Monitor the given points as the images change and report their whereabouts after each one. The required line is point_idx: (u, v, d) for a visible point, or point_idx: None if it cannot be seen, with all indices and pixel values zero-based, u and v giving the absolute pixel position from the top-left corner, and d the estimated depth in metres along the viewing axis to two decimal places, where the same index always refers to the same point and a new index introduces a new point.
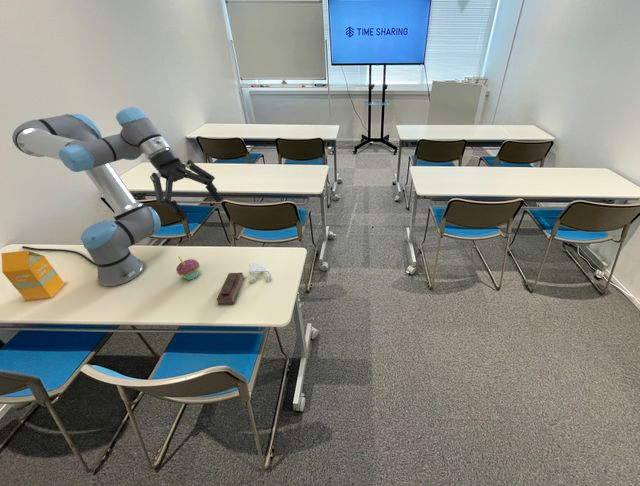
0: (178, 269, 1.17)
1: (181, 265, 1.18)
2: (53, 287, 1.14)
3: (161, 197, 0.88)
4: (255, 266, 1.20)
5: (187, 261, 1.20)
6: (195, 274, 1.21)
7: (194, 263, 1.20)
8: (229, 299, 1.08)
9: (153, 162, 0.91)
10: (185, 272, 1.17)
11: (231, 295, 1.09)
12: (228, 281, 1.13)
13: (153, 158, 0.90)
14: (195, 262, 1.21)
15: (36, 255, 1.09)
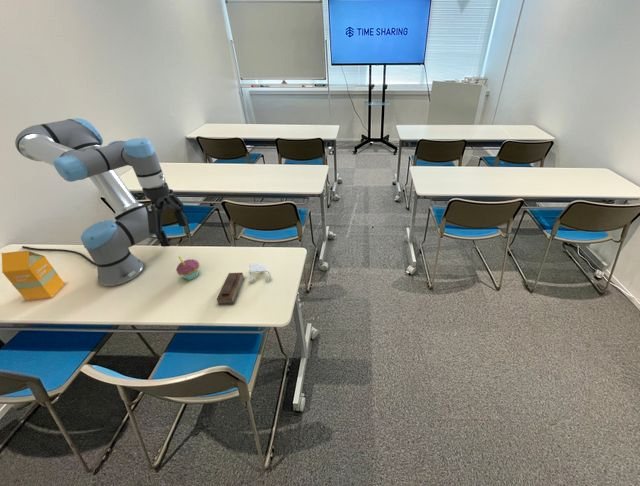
0: (178, 269, 1.17)
1: (181, 265, 1.18)
2: (53, 287, 1.14)
3: (157, 228, 1.00)
4: (255, 266, 1.20)
5: (187, 261, 1.20)
6: (195, 274, 1.21)
7: (194, 263, 1.20)
8: (229, 299, 1.08)
9: (151, 193, 0.99)
10: (185, 272, 1.17)
11: (231, 295, 1.09)
12: (228, 281, 1.13)
13: (153, 191, 0.98)
14: (195, 262, 1.21)
15: (36, 255, 1.09)
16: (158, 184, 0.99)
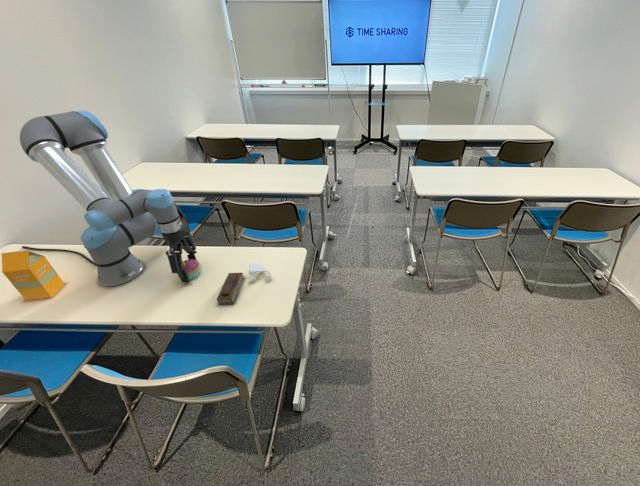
0: None
1: None
2: (53, 287, 1.14)
3: (178, 269, 1.11)
4: (255, 266, 1.20)
5: (187, 261, 1.20)
6: (195, 274, 1.21)
7: (194, 263, 1.20)
8: (229, 299, 1.08)
9: (170, 238, 1.08)
10: None
11: (231, 295, 1.09)
12: (228, 281, 1.13)
13: (172, 235, 1.08)
14: (195, 262, 1.21)
15: (36, 255, 1.09)
16: (176, 229, 1.08)
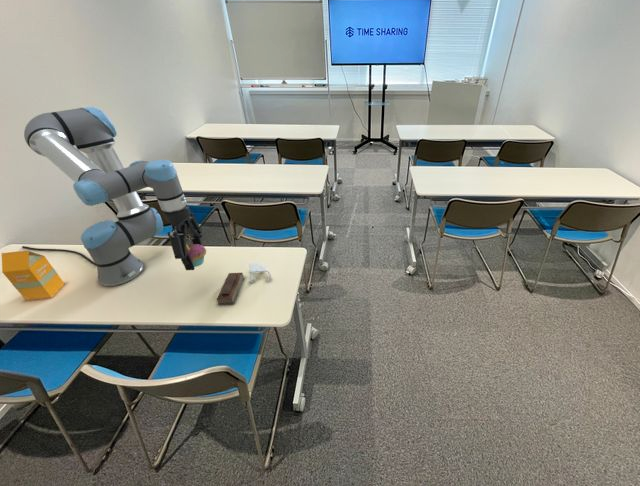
0: None
1: None
2: (53, 287, 1.14)
3: (182, 253, 0.97)
4: (255, 266, 1.20)
5: (192, 246, 1.05)
6: (201, 261, 1.06)
7: (200, 248, 1.05)
8: (229, 299, 1.08)
9: (172, 217, 0.94)
10: None
11: (231, 295, 1.09)
12: (228, 281, 1.13)
13: (175, 214, 0.93)
14: (201, 247, 1.06)
15: (36, 255, 1.09)
16: (180, 207, 0.94)
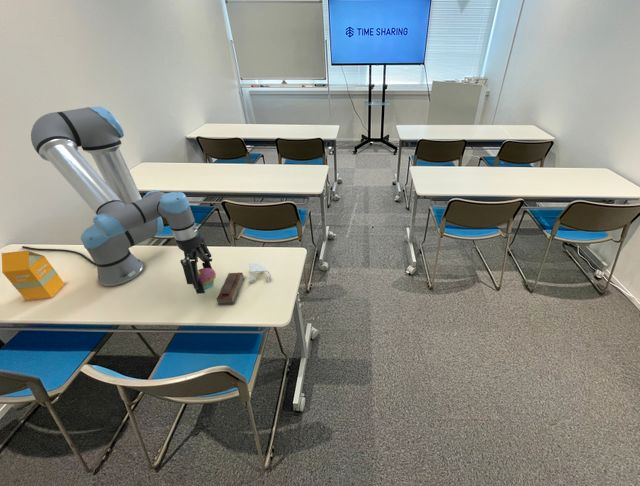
0: None
1: None
2: (53, 287, 1.14)
3: (194, 279, 1.02)
4: (255, 266, 1.20)
5: (202, 270, 1.10)
6: (211, 284, 1.11)
7: (210, 272, 1.10)
8: (229, 299, 1.08)
9: (185, 245, 0.98)
10: (201, 282, 1.07)
11: (231, 295, 1.09)
12: (228, 281, 1.13)
13: (187, 243, 0.98)
14: (211, 271, 1.11)
15: (36, 255, 1.09)
16: (192, 236, 0.98)
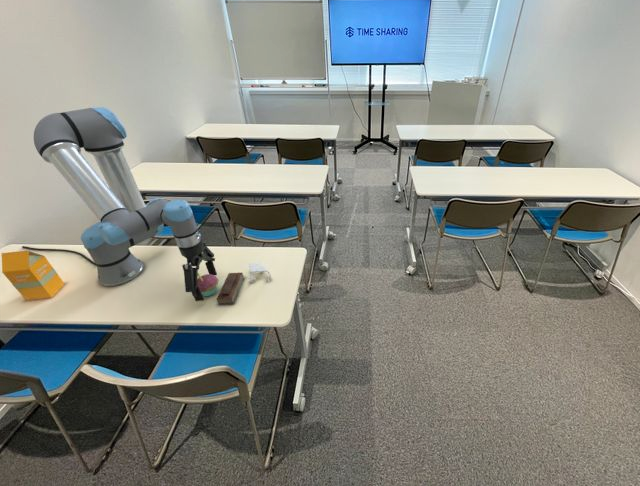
0: None
1: (199, 281, 1.10)
2: (53, 287, 1.14)
3: (193, 286, 1.01)
4: (255, 266, 1.20)
5: (205, 276, 1.12)
6: (213, 290, 1.13)
7: (213, 279, 1.12)
8: (229, 299, 1.08)
9: (188, 252, 1.00)
10: (203, 289, 1.09)
11: (231, 295, 1.09)
12: (228, 281, 1.13)
13: (190, 250, 1.00)
14: (213, 277, 1.13)
15: (36, 255, 1.09)
16: (195, 243, 1.00)
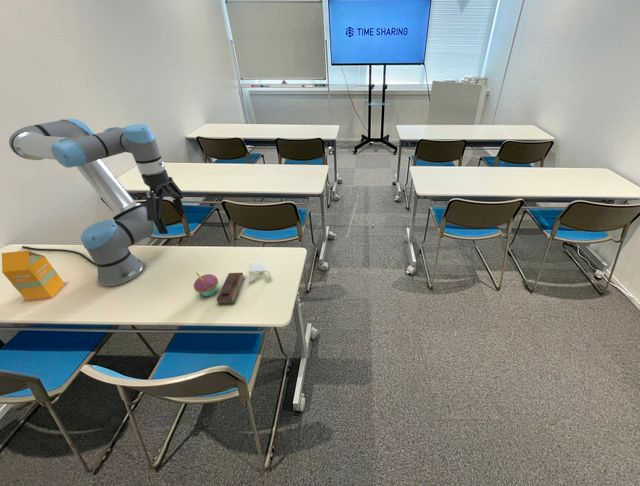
0: (196, 285, 1.09)
1: (199, 281, 1.10)
2: (53, 287, 1.14)
3: (155, 215, 1.00)
4: (255, 266, 1.20)
5: (205, 276, 1.12)
6: (213, 290, 1.13)
7: (213, 279, 1.12)
8: (229, 299, 1.08)
9: (150, 180, 0.99)
10: (203, 289, 1.09)
11: (231, 295, 1.09)
12: (228, 281, 1.13)
13: (153, 178, 0.98)
14: (213, 277, 1.13)
15: (36, 255, 1.09)
16: (157, 171, 0.98)
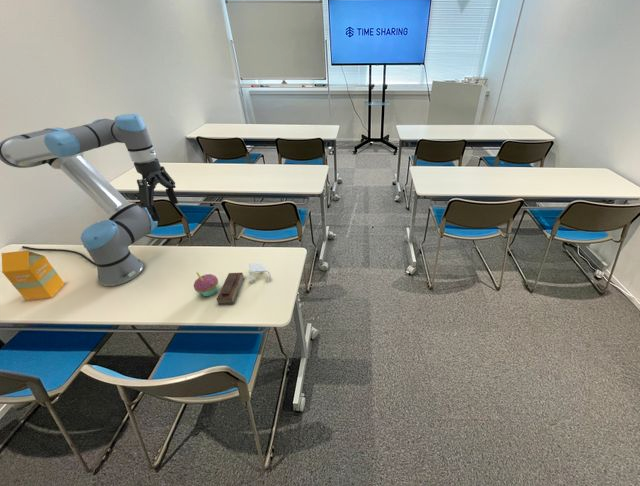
0: (196, 285, 1.09)
1: (199, 281, 1.10)
2: (53, 287, 1.14)
3: (148, 202, 1.03)
4: (255, 266, 1.20)
5: (205, 276, 1.12)
6: (213, 290, 1.13)
7: (213, 279, 1.12)
8: (229, 299, 1.08)
9: (142, 168, 1.02)
10: (203, 289, 1.09)
11: (231, 295, 1.09)
12: (228, 281, 1.13)
13: (145, 165, 1.02)
14: (213, 277, 1.13)
15: (36, 255, 1.09)
16: (149, 159, 1.02)
